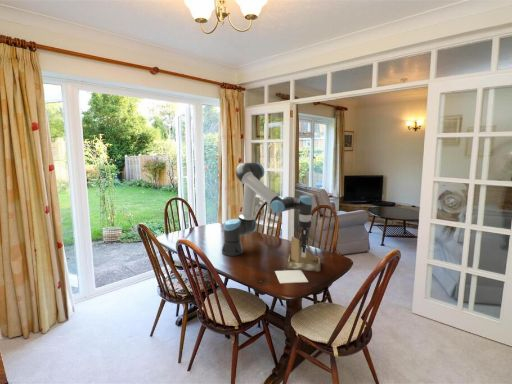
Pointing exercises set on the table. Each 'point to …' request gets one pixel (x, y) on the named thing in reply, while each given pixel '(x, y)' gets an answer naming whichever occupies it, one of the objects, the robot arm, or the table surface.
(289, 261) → the crate
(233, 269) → the table surface
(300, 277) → the linen napkin
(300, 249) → the sandwich container
